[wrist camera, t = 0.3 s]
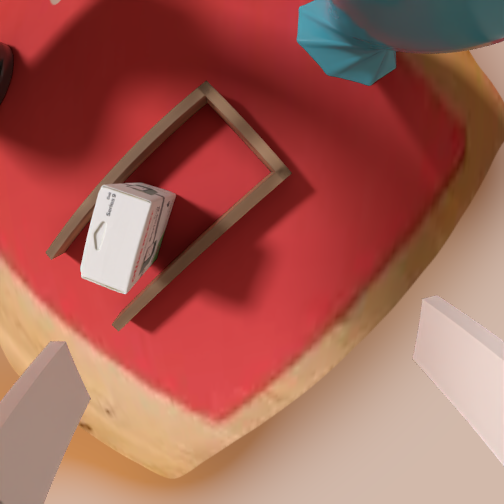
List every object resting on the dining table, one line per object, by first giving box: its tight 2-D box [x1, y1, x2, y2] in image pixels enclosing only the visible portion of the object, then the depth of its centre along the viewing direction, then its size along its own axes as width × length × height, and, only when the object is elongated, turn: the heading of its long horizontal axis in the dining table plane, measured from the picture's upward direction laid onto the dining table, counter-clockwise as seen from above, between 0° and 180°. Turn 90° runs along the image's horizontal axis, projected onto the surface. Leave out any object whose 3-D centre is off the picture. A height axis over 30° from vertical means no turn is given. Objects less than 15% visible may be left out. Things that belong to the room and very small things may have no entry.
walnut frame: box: [46, 81, 292, 331], centre depth 32 cm, size 13×27×4 cm, turn 132°
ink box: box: [80, 182, 176, 294], centre depth 28 cm, size 9×5×12 cm, turn 160°
